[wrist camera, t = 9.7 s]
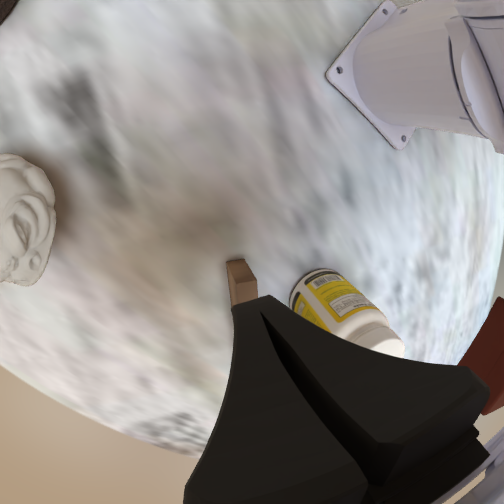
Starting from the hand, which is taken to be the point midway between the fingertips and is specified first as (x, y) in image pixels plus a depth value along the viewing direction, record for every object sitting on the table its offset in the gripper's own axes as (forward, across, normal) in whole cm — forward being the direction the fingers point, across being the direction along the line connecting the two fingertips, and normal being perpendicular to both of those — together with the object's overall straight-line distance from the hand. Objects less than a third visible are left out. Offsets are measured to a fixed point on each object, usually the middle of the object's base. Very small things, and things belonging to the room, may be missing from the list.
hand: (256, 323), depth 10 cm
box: (+10, -41, +32) cm, 53 cm away
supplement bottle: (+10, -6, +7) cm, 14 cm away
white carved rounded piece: (+10, +10, -5) cm, 15 cm away
